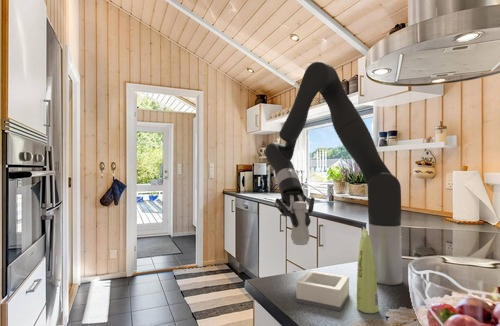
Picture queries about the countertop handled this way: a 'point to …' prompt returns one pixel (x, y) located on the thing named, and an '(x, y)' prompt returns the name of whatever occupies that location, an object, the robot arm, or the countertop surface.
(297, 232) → the salt shaker
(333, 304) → the socket dock
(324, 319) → the countertop surface
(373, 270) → the tube
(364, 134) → the robot arm
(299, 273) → the countertop surface
